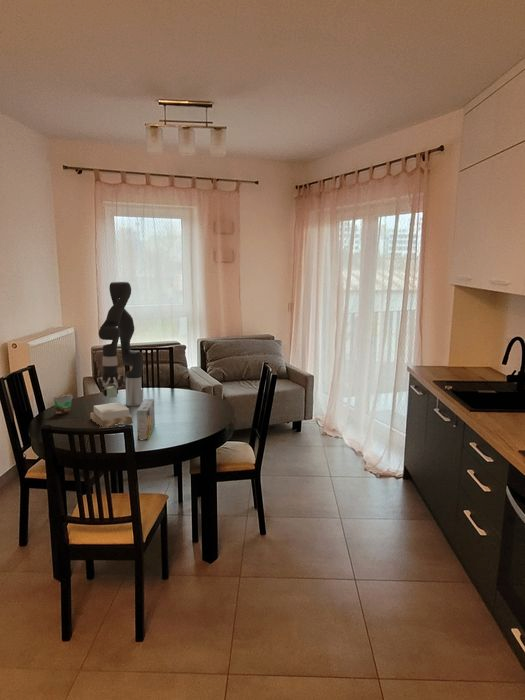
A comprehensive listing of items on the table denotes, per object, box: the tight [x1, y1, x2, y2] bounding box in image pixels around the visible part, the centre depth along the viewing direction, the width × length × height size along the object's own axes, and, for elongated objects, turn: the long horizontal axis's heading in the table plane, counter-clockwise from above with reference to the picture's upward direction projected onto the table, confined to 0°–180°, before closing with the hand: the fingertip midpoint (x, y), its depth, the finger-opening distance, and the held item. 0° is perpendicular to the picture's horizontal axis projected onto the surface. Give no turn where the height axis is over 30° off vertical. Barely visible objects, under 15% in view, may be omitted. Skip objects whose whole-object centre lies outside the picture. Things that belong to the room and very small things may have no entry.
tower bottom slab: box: [90, 411, 133, 428], centre depth 242 cm, size 16×18×4 cm
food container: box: [53, 392, 73, 415], centre depth 253 cm, size 12×6×10 cm, turn 168°
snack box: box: [136, 398, 156, 440], centre depth 224 cm, size 21×6×15 cm, turn 5°
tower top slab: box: [93, 401, 130, 421], centre depth 242 cm, size 14×16×4 cm
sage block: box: [105, 385, 118, 399], centre depth 240 cm, size 5×5×5 cm
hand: (110, 395), depth 240 cm, fingers closed on sage block, 5 cm apart
